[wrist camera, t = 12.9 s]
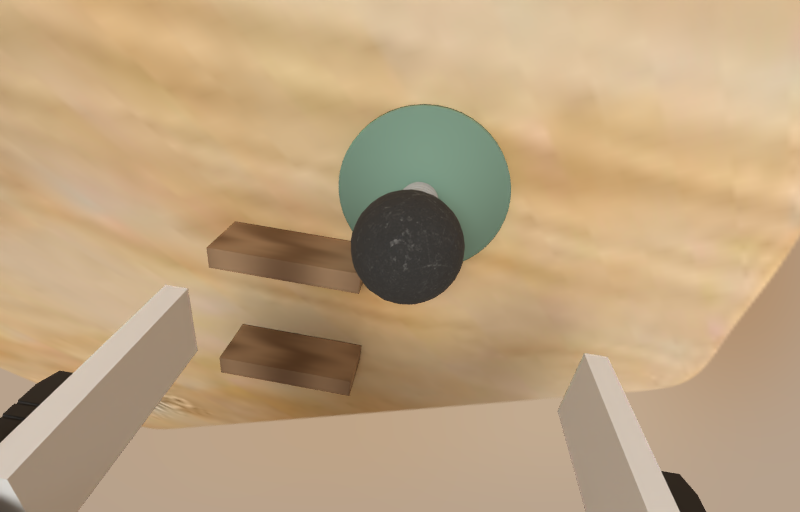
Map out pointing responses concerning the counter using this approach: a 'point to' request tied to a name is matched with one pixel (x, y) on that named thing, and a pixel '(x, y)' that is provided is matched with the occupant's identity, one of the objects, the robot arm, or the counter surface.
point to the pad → (430, 168)
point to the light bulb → (408, 245)
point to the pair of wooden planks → (299, 263)
